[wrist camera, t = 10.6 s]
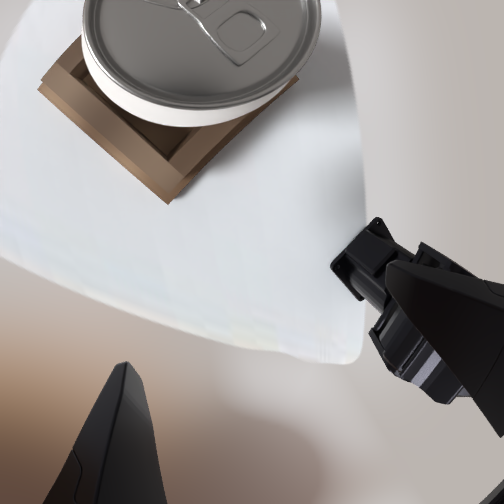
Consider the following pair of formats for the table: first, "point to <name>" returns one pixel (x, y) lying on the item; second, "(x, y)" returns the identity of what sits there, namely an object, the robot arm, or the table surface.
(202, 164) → the socket
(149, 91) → the can
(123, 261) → the table surface
